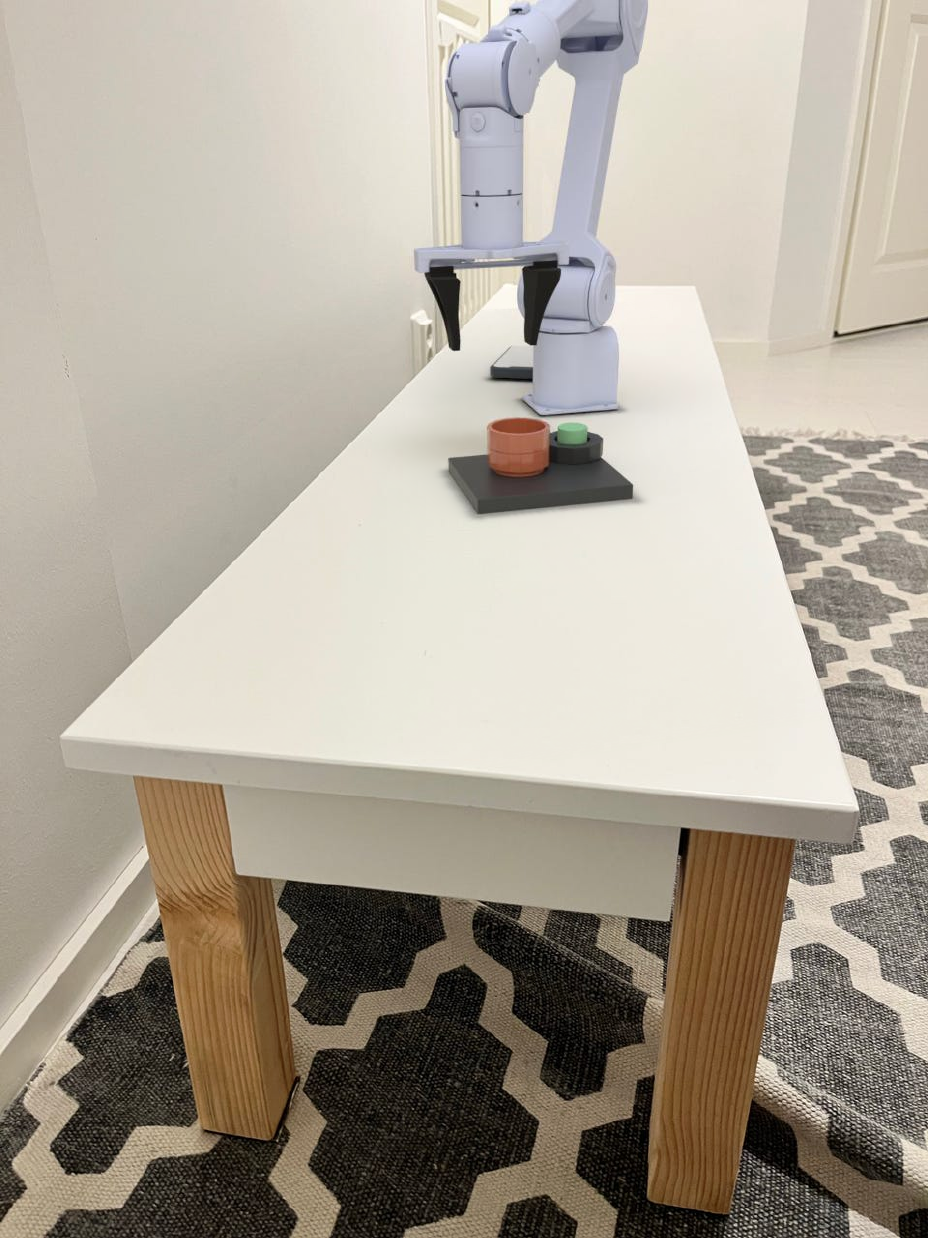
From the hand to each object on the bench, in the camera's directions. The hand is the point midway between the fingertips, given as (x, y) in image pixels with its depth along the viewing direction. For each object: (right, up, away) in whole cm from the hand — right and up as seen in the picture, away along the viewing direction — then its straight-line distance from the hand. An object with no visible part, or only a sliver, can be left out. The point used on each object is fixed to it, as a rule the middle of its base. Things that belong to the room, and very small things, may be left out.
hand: (492, 346), depth 95 cm
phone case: (+6, +7, +37) cm, 38 cm away
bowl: (+2, -13, -5) cm, 14 cm away
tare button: (+7, -10, -3) cm, 13 cm away
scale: (+4, -14, -5) cm, 16 cm away
